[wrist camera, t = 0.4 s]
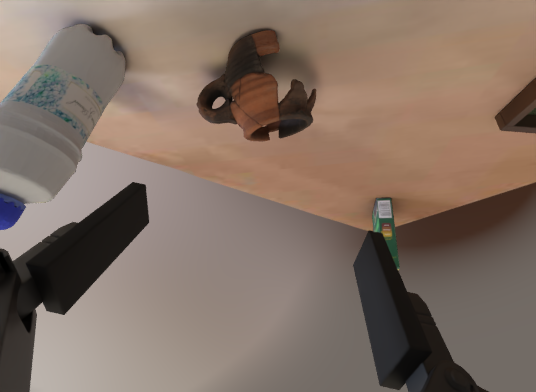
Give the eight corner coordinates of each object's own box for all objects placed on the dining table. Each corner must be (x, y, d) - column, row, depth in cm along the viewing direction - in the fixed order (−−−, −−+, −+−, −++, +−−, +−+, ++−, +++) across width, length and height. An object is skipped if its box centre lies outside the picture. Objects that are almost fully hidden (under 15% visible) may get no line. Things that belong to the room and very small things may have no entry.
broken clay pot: (306, 10, 22) (327, 102, 22) (301, 69, 31) (316, 134, 31) (173, 47, 23) (191, 135, 22) (208, 93, 32) (220, 156, 32)
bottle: (141, 82, 30) (56, 247, 21) (82, 71, 30) (-33, 234, 20) (119, 22, 24) (-13, 215, 15) (45, 7, 24) (-139, 196, 14)
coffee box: (374, 197, 47) (381, 268, 41) (392, 196, 46) (401, 269, 40) (371, 215, 54) (376, 279, 48) (385, 215, 53) (393, 280, 47)
